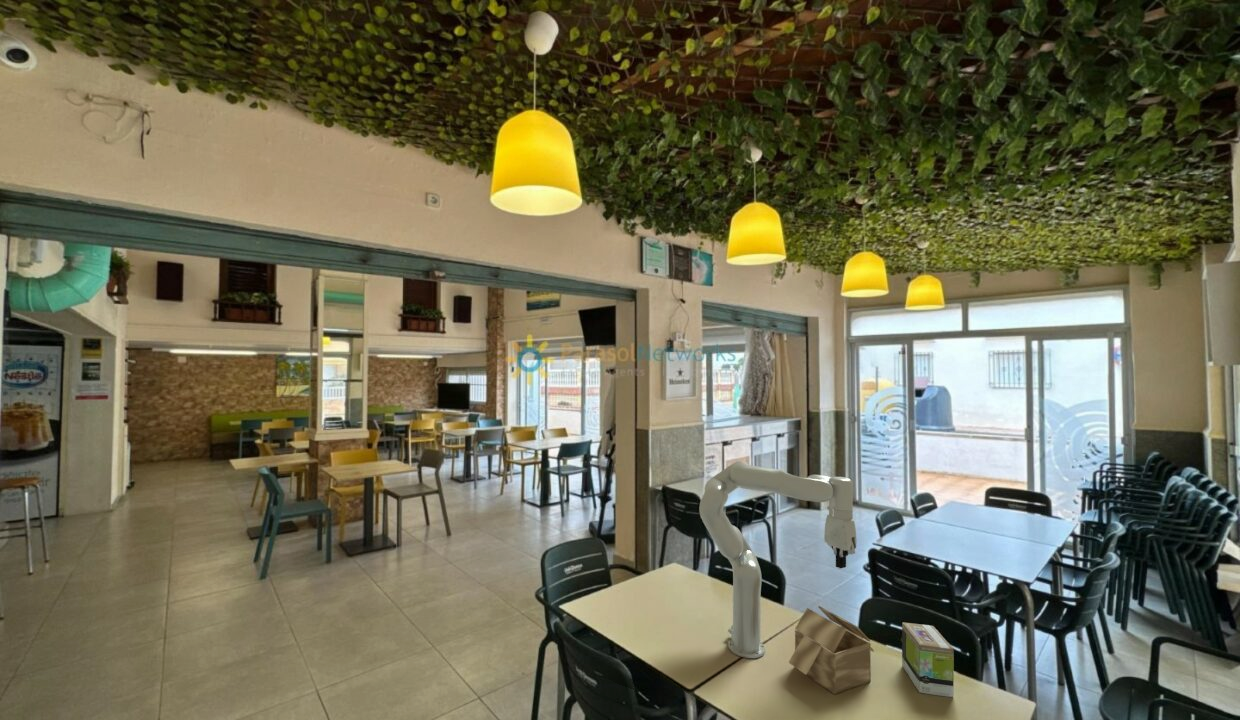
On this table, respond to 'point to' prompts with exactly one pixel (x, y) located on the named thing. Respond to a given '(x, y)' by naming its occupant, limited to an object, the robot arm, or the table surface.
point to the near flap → (815, 639)
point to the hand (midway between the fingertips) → (840, 567)
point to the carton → (841, 663)
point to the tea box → (928, 659)
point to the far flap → (845, 624)
